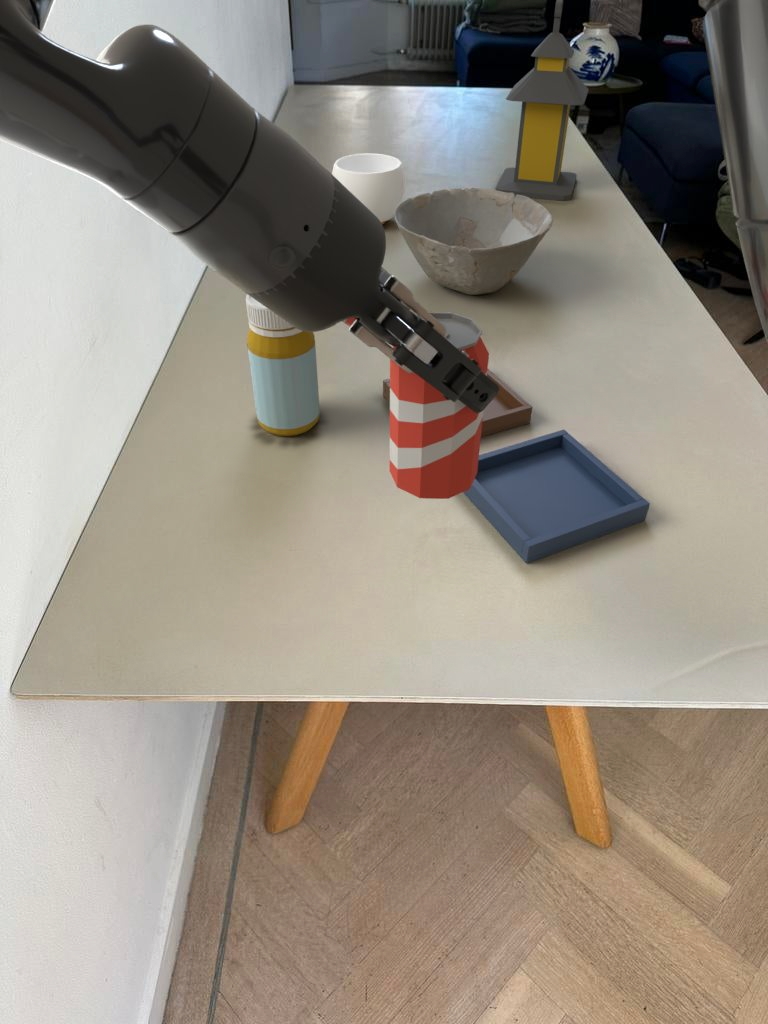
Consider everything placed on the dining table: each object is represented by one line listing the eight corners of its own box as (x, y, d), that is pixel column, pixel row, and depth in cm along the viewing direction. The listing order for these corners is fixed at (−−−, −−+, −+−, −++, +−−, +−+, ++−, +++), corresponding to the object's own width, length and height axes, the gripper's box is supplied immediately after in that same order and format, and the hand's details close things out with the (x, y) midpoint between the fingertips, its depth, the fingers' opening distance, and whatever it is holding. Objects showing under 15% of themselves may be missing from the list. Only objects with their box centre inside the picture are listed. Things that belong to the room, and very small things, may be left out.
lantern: (576, 177, 150) (605, -5, 130) (569, 201, 140) (600, 7, 120) (505, 171, 153) (523, -8, 133) (494, 194, 143) (511, 3, 123)
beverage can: (390, 454, 58) (391, 307, 50) (474, 455, 58) (488, 309, 50) (388, 505, 54) (388, 352, 46) (478, 507, 53) (495, 354, 46)
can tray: (645, 520, 73) (650, 503, 71) (526, 563, 68) (529, 546, 67) (561, 445, 82) (564, 429, 80) (451, 479, 77) (452, 462, 76)
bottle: (330, 427, 84) (323, 300, 75) (273, 445, 82) (257, 317, 72) (303, 397, 89) (293, 275, 79) (248, 414, 86) (230, 289, 77)
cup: (322, 215, 134) (319, 157, 128) (385, 205, 138) (385, 148, 132) (350, 239, 126) (348, 178, 120) (416, 228, 130) (417, 168, 123)
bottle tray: (530, 423, 85) (532, 407, 84) (432, 451, 81) (433, 435, 80) (473, 371, 94) (474, 356, 92) (382, 395, 89) (382, 379, 88)
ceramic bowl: (413, 324, 103) (415, 252, 97) (381, 257, 120) (380, 192, 114) (567, 309, 106) (579, 238, 100) (514, 246, 123) (521, 183, 117)
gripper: (384, 208, 34) (562, 380, 45) (273, 131, 43) (443, 289, 55) (282, 342, 35) (479, 475, 47) (197, 238, 45) (377, 369, 57)
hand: (459, 374), depth 51 cm, fingers closed on beverage can, 6 cm apart
